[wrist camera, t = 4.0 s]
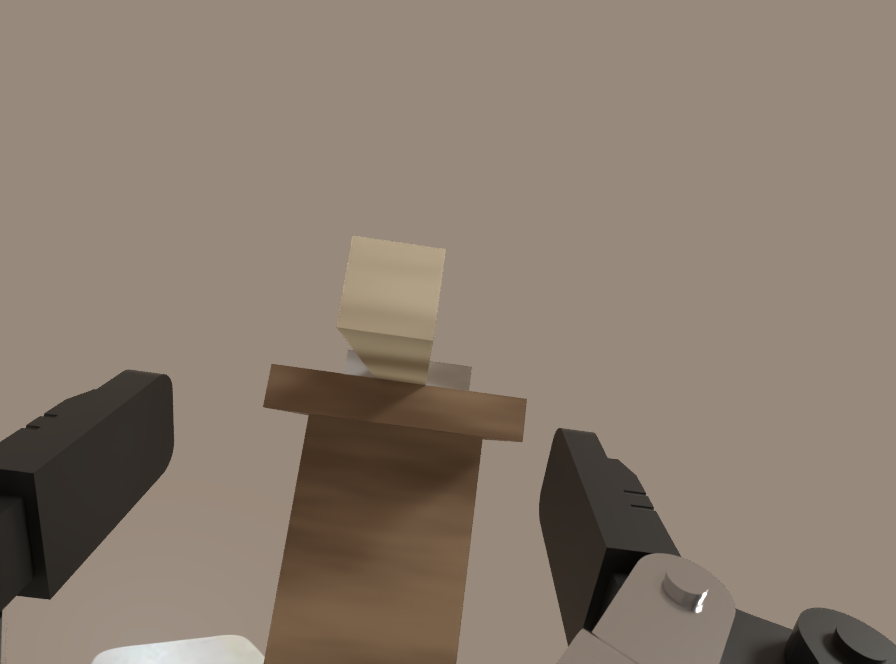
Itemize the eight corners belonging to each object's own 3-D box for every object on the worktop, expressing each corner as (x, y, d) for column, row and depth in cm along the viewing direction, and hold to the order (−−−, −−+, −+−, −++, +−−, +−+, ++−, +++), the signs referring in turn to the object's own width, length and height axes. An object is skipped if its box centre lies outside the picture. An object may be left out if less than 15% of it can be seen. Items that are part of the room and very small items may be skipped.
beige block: (347, 390, 37) (353, 356, 37) (463, 406, 37) (467, 372, 37) (222, 311, 13) (242, 219, 13) (544, 356, 13) (553, 264, 14)
